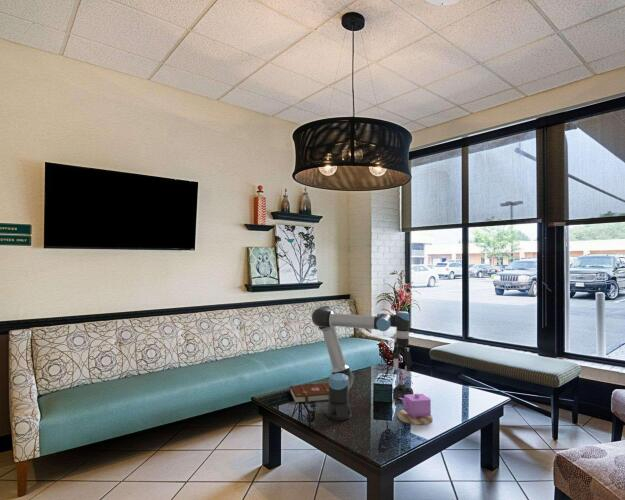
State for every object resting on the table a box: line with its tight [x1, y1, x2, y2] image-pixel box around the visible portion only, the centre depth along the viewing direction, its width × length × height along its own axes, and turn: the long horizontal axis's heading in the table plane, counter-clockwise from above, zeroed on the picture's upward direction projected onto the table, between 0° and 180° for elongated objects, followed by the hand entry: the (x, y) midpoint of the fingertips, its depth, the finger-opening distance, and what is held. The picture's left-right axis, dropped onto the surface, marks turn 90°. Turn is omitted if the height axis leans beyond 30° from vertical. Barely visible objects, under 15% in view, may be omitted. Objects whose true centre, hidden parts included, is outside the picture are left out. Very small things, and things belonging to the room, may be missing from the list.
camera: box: [392, 382, 414, 401], centre depth 256 cm, size 13×10×10 cm
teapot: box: [398, 393, 432, 419], centre depth 225 cm, size 20×10×12 cm, turn 102°
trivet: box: [397, 409, 433, 426], centre depth 225 cm, size 20×20×1 cm
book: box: [289, 382, 329, 404], centre depth 262 cm, size 23×32×5 cm
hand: (401, 372), depth 231 cm, fingers open, 13 cm apart
